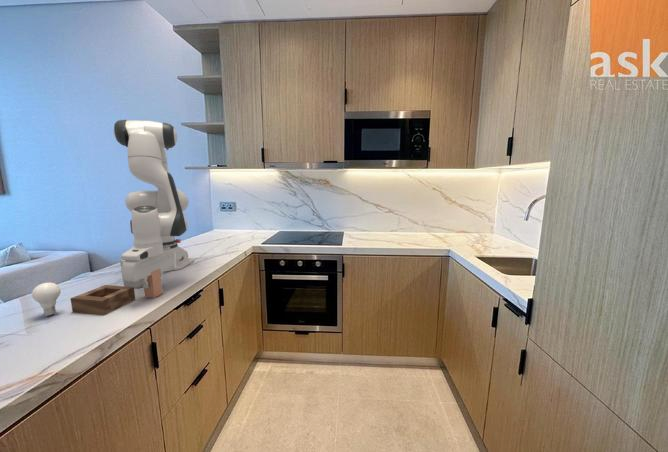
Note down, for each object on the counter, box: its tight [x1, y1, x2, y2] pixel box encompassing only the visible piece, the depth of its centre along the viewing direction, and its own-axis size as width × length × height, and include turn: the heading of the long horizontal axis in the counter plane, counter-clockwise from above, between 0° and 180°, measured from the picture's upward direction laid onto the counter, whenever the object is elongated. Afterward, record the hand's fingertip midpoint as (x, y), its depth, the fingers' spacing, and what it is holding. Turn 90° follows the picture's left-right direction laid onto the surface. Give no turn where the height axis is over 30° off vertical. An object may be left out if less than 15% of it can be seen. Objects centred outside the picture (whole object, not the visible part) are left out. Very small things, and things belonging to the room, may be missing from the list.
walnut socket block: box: [70, 284, 136, 316], centre depth 95 cm, size 12×12×5 cm
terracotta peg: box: [143, 269, 163, 299], centre depth 103 cm, size 4×4×10 cm
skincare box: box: [119, 259, 143, 289], centre depth 112 cm, size 6×4×12 cm
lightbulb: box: [31, 281, 62, 317], centre depth 87 cm, size 6×6×11 cm
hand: (152, 284), depth 103 cm, fingers closed on terracotta peg, 4 cm apart
